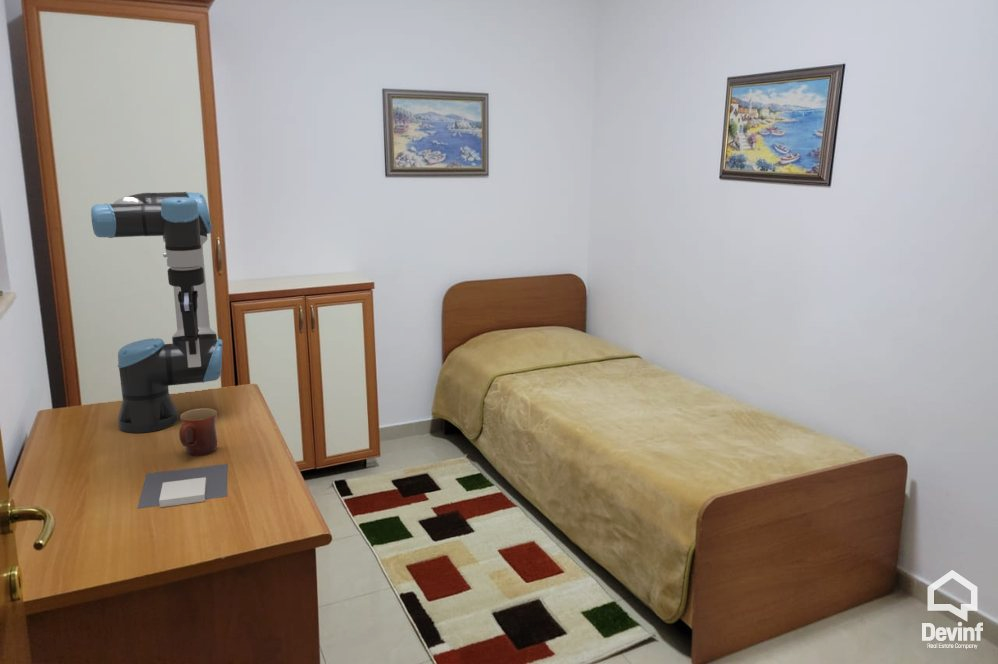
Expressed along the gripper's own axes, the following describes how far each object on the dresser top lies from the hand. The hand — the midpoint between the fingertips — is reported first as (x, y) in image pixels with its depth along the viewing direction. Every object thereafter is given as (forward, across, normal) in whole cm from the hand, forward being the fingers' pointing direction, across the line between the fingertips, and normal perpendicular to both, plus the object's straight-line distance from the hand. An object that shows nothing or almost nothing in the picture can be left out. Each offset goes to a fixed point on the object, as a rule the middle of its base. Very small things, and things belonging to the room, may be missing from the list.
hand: (194, 366), depth 170 cm
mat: (+25, +11, -3) cm, 28 cm away
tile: (+24, +12, -3) cm, 27 cm away
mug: (+26, -7, -2) cm, 27 cm away
